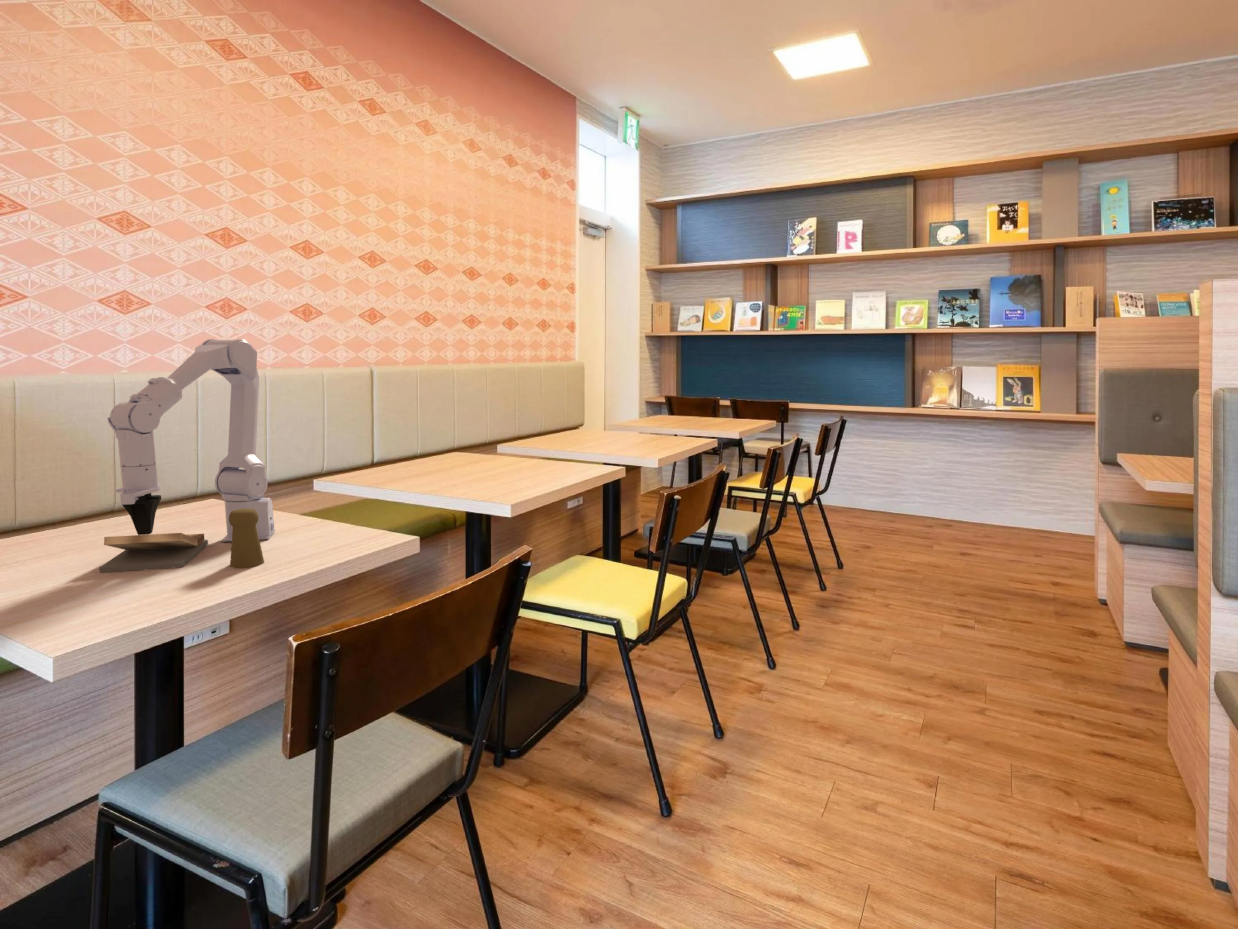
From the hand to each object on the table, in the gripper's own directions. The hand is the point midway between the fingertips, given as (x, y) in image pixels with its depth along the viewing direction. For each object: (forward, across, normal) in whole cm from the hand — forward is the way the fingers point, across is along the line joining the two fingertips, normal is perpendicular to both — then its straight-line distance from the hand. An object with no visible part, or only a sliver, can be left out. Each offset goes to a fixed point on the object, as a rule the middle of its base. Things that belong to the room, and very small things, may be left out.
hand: (145, 533), depth 141 cm
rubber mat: (+6, -6, 0) cm, 8 cm away
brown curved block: (+6, -12, 0) cm, 13 cm away
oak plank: (+3, -4, 0) cm, 5 cm away
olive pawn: (+6, +4, +18) cm, 20 cm away
